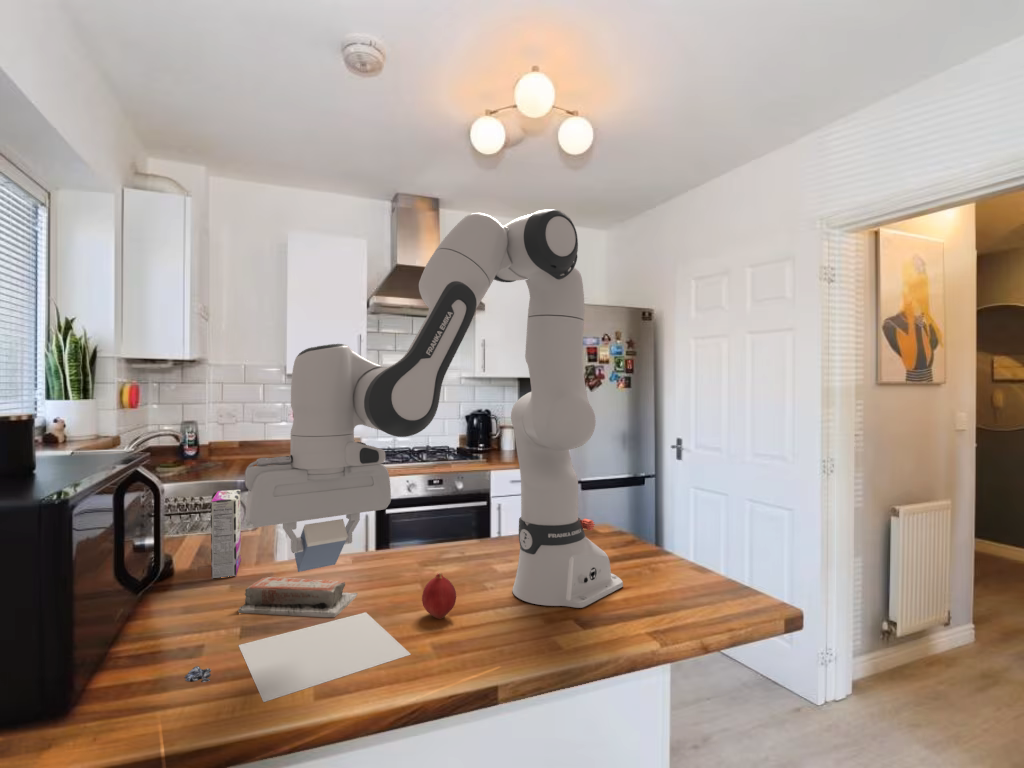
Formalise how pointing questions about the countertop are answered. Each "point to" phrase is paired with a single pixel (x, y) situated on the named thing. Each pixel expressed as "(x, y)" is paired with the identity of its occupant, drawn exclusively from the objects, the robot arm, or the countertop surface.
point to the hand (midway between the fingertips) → (322, 547)
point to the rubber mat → (318, 654)
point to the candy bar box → (225, 534)
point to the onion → (439, 596)
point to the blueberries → (198, 674)
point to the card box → (321, 544)
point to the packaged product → (296, 597)
